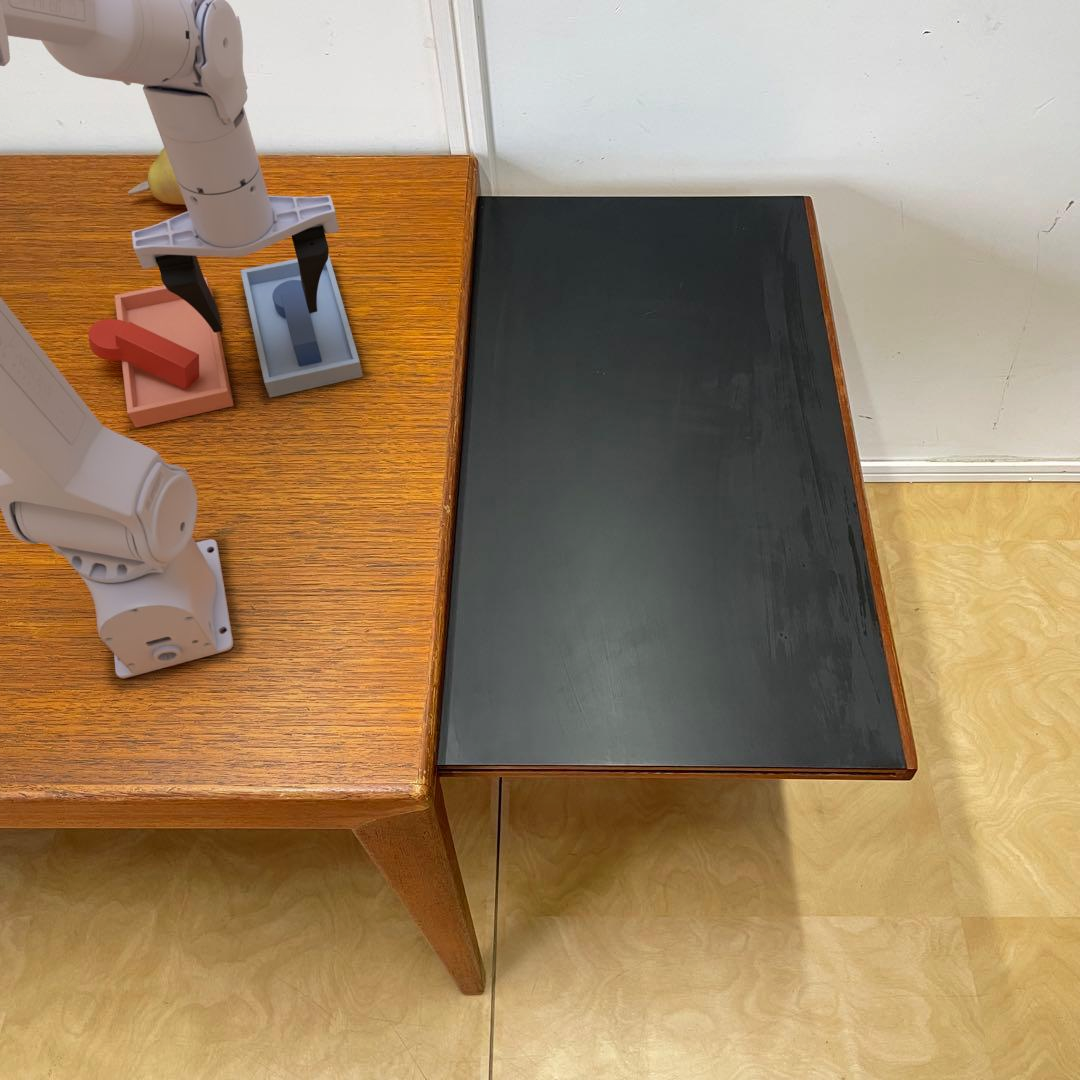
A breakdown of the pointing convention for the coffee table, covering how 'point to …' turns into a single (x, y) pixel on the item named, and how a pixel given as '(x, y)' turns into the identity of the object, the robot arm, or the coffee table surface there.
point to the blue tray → (275, 335)
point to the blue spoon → (297, 321)
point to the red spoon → (144, 351)
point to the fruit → (161, 182)
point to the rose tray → (186, 328)
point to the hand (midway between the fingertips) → (264, 313)
